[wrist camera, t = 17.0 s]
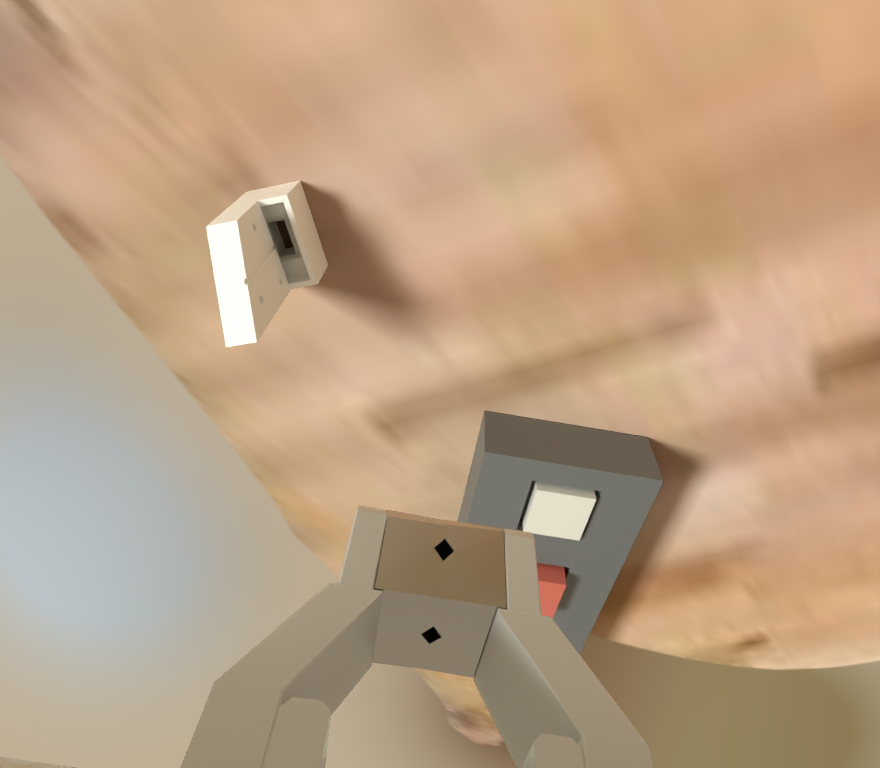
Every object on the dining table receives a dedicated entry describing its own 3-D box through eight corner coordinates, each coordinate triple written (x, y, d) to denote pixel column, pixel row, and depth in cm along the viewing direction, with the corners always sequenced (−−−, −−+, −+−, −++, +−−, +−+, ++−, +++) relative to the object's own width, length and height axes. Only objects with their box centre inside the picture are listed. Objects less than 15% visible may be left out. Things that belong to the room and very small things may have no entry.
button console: (647, 437, 47) (663, 480, 43) (560, 634, 62) (566, 681, 57) (484, 410, 47) (484, 452, 43) (434, 615, 61) (431, 661, 57)
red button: (559, 537, 52) (566, 585, 48) (547, 570, 54) (552, 619, 50) (509, 529, 52) (511, 576, 48) (499, 563, 54) (500, 611, 50)
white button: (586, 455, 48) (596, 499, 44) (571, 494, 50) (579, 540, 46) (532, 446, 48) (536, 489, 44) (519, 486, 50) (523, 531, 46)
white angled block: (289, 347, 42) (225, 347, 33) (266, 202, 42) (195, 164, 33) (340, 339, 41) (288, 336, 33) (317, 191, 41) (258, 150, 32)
